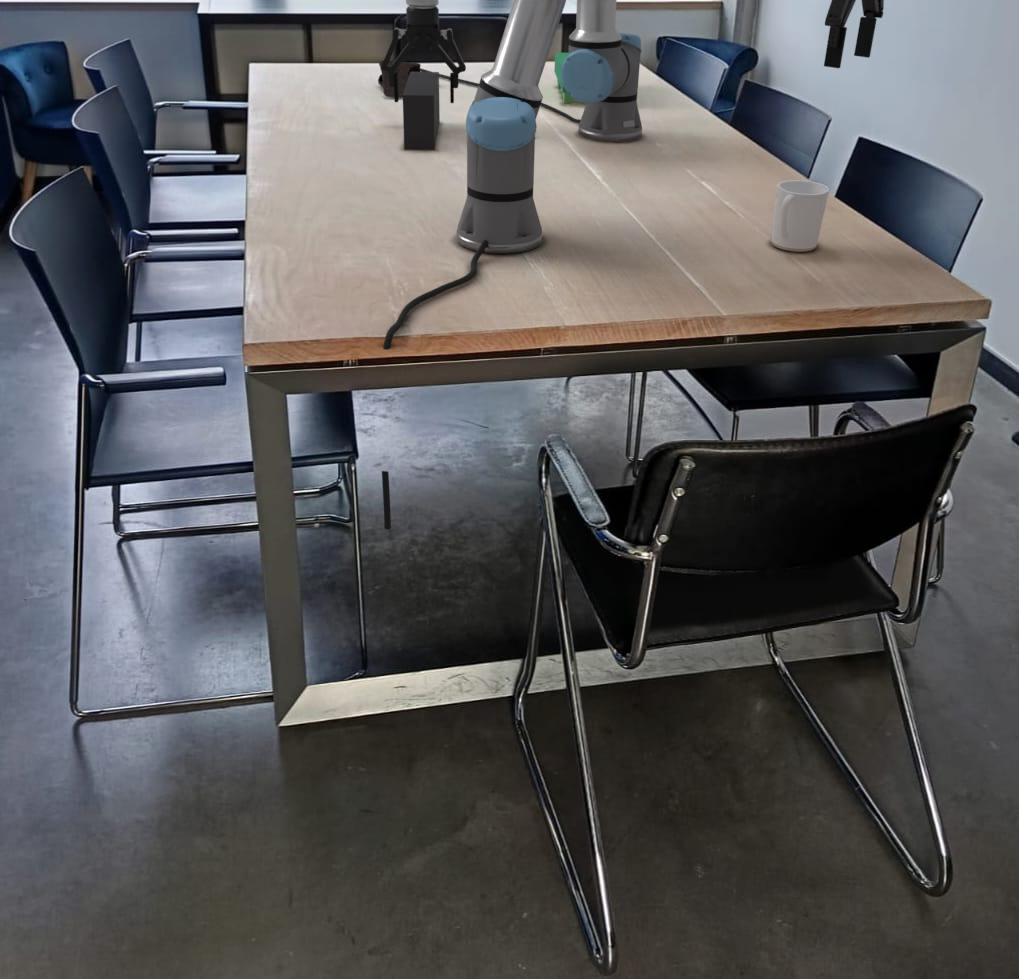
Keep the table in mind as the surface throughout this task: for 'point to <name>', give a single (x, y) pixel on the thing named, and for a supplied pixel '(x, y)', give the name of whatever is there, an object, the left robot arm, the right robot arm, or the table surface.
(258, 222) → the table surface
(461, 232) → the left robot arm
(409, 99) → the box
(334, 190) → the table surface
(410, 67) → the axe head
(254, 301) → the table surface
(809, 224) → the mug
